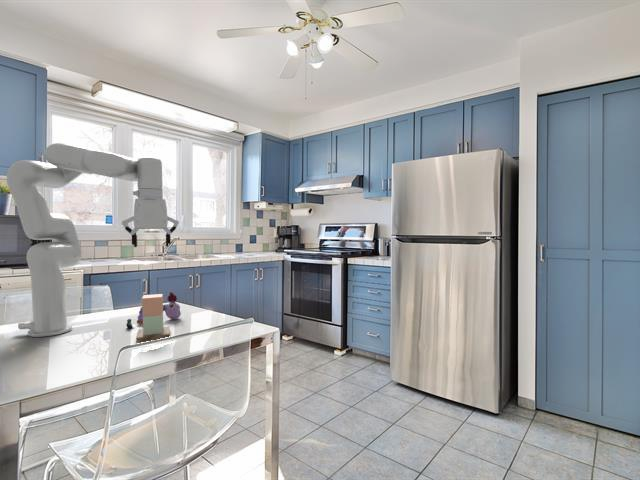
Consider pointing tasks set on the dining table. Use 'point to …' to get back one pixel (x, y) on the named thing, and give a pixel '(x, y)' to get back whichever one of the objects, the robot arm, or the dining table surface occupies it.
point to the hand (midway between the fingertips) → (151, 246)
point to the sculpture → (129, 325)
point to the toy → (166, 309)
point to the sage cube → (152, 324)
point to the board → (152, 335)
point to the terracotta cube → (152, 305)
